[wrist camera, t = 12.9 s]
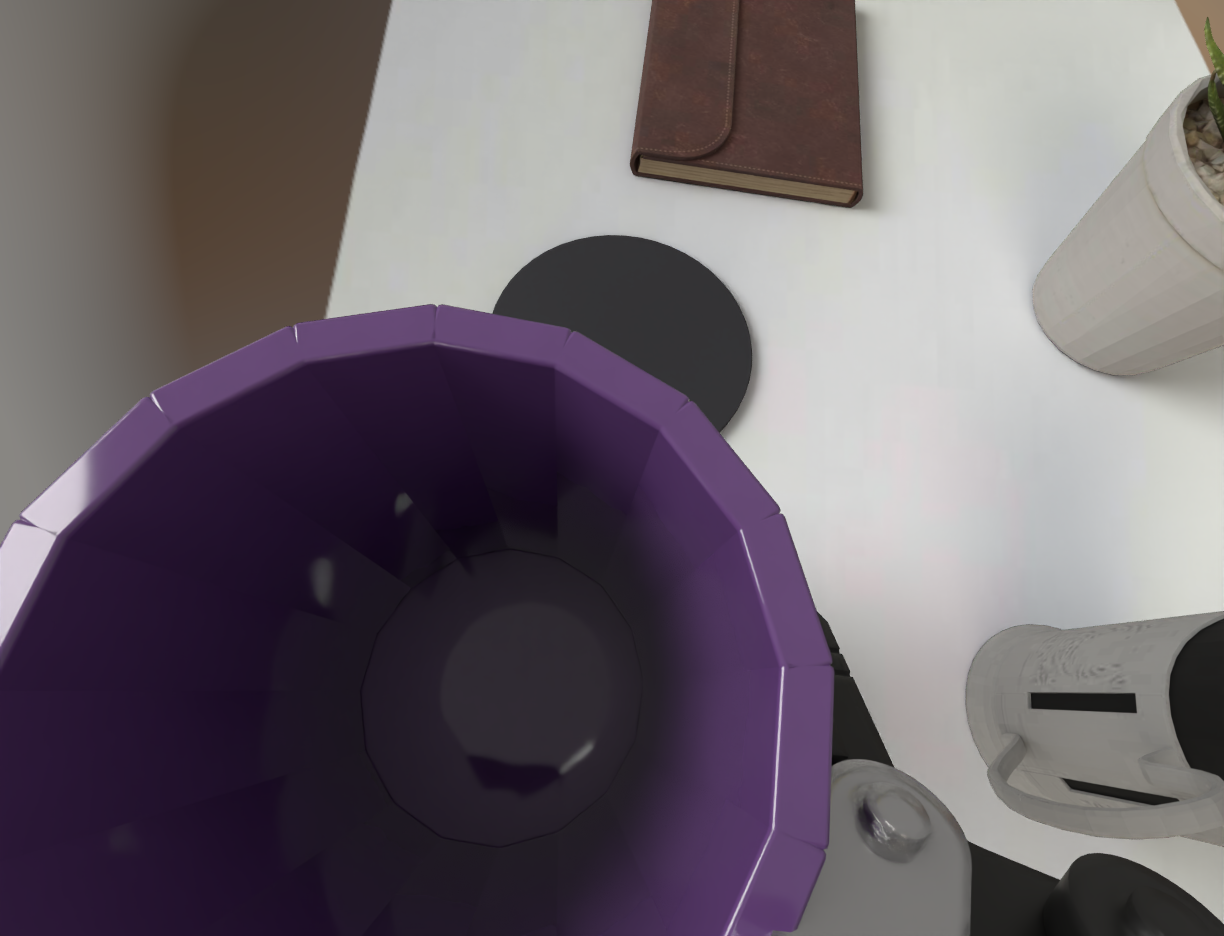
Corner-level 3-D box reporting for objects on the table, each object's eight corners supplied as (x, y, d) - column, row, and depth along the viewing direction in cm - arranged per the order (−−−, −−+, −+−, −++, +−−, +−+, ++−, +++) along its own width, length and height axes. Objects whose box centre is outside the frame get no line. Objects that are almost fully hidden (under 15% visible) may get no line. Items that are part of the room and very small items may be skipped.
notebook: (848, 9, 46) (860, -20, 44) (855, 208, 39) (870, 184, 37) (655, -22, 46) (659, -52, 44) (628, 174, 39) (631, 148, 37)
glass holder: (1176, 793, 28) (1779, 895, 14) (904, 876, 26) (1296, 1093, 12) (1088, 608, 31) (1520, 541, 17) (836, 670, 29) (1091, 653, 15)
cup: (364, 906, 11) (-204, 1528, 3) (337, 570, 13) (-40, 367, 5) (692, 812, 12) (977, 1079, 4) (619, 513, 14) (702, 262, 6)
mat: (514, 495, 31) (513, 492, 30) (468, 259, 36) (467, 253, 35) (785, 440, 33) (788, 436, 33) (707, 225, 38) (709, 219, 37)
